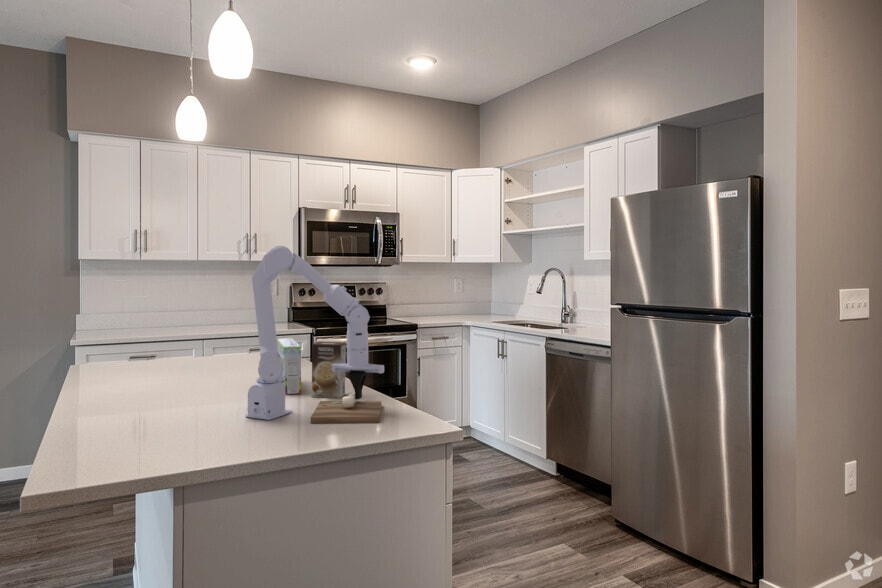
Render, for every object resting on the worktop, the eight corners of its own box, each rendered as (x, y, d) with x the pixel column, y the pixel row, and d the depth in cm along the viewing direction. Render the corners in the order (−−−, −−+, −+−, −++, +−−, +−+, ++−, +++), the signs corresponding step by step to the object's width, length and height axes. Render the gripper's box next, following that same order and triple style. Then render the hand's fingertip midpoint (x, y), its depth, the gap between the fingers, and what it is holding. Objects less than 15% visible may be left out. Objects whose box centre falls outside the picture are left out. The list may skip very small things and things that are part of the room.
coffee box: (310, 397, 176) (310, 343, 175) (317, 393, 182) (317, 341, 181) (340, 398, 175) (340, 344, 174) (346, 393, 181) (346, 341, 180)
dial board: (379, 422, 147) (379, 415, 147) (310, 423, 146) (310, 416, 146) (381, 406, 165) (381, 400, 165) (320, 406, 164) (320, 400, 164)
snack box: (276, 382, 198) (276, 338, 198) (293, 381, 200) (293, 337, 200) (283, 395, 178) (283, 345, 178) (302, 394, 180) (302, 345, 180)
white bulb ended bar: (352, 407, 154) (352, 398, 154) (341, 406, 154) (341, 398, 154) (362, 399, 164) (362, 390, 164) (352, 398, 164) (352, 390, 164)
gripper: (387, 347, 162) (388, 396, 163) (339, 346, 166) (339, 394, 166) (378, 351, 155) (379, 402, 156) (328, 349, 159) (328, 399, 159)
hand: (358, 398), depth 161 cm, fingers closed, pressing on white bulb ended bar
